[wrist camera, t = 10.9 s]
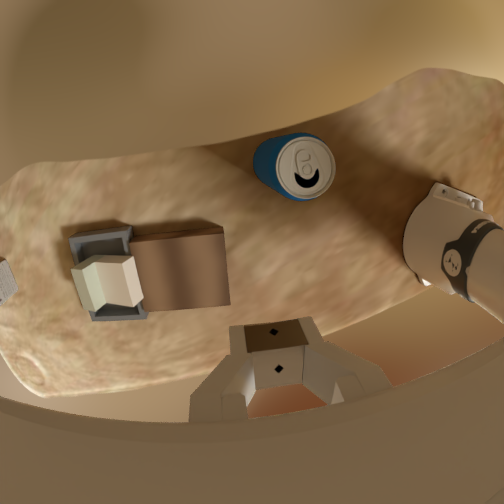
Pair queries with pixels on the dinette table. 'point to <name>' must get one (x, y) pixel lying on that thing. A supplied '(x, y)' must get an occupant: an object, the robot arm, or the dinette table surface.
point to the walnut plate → (182, 269)
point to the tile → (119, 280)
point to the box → (107, 244)
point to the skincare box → (6, 282)
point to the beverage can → (295, 165)
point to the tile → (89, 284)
